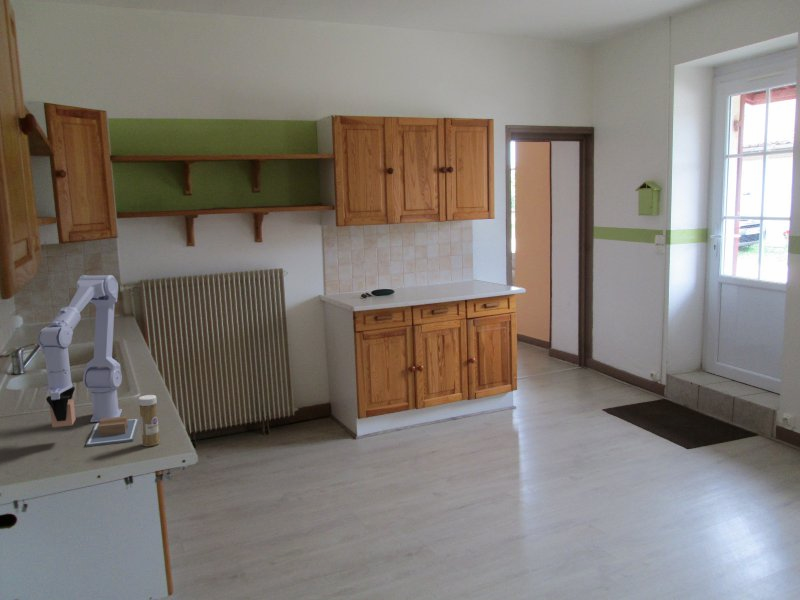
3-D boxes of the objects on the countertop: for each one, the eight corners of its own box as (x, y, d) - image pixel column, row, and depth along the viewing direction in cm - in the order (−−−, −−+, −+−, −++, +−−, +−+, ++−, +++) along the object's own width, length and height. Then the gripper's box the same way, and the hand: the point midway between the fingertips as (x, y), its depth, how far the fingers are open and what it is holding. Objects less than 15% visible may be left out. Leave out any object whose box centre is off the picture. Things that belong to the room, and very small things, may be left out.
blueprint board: (95, 425, 196) (95, 423, 196) (138, 420, 200) (138, 418, 199) (85, 446, 179) (85, 444, 179) (133, 441, 182) (132, 438, 182)
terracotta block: (56, 421, 184) (53, 400, 183) (75, 419, 185) (73, 398, 184) (52, 427, 179) (49, 406, 178) (72, 425, 181) (70, 404, 180)
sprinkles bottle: (154, 447, 178) (150, 399, 175) (139, 446, 178) (134, 399, 176) (163, 441, 182) (159, 394, 180) (147, 440, 183) (144, 394, 181)
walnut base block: (102, 428, 192) (101, 418, 191) (128, 425, 194) (127, 415, 193) (98, 436, 185) (97, 426, 184) (125, 433, 187) (124, 423, 186)
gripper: (48, 364, 186) (53, 410, 188) (35, 378, 172) (41, 427, 174) (75, 362, 188) (80, 408, 190) (65, 375, 174) (70, 424, 176)
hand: (63, 417), depth 182 cm, fingers closed on terracotta block, 5 cm apart
